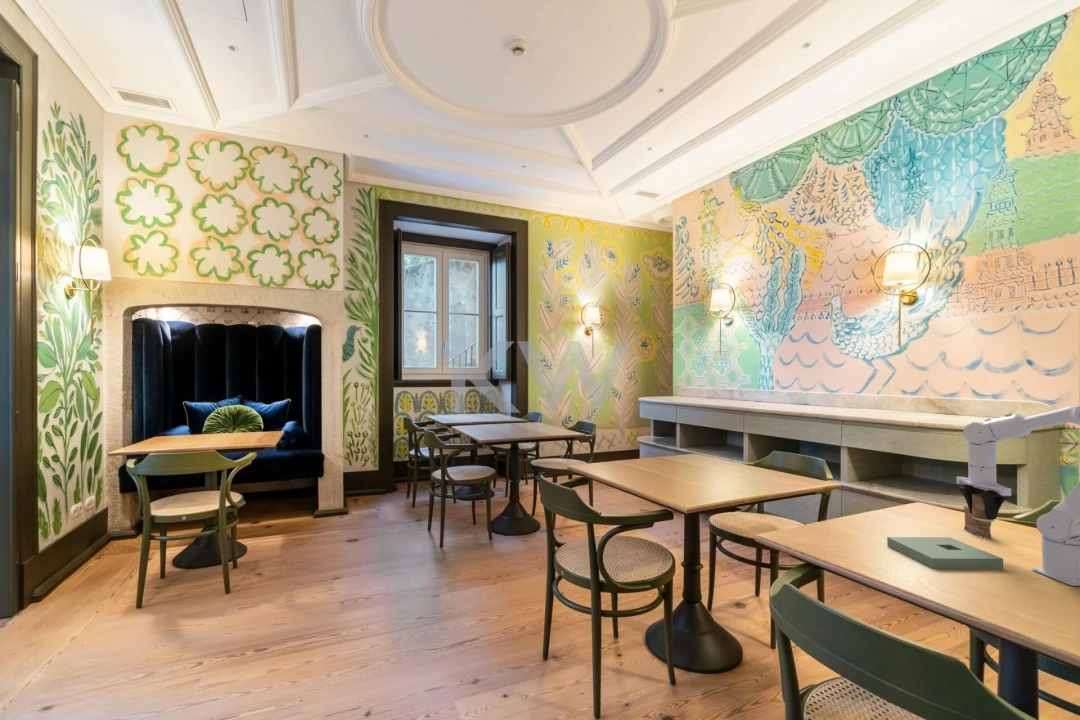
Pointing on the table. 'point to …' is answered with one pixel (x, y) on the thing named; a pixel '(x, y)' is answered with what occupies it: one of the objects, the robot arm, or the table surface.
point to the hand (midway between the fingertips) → (982, 516)
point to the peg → (980, 513)
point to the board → (944, 552)
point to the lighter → (974, 525)
